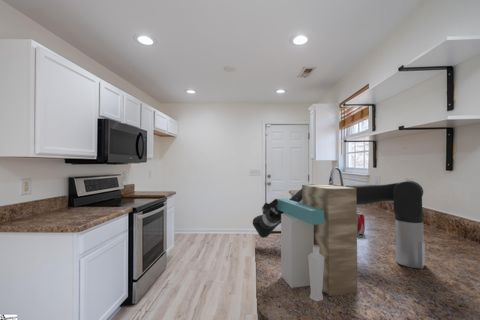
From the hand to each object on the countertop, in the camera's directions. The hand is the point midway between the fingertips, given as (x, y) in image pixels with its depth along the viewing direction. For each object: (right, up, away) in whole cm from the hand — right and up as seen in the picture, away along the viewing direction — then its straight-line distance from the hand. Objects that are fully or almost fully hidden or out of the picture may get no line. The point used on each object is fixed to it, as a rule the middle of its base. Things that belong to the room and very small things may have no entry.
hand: (287, 200), depth 87 cm
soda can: (+51, -28, +49) cm, 76 cm away
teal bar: (+2, -4, -7) cm, 8 cm away
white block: (+2, -26, -8) cm, 27 cm away
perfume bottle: (+5, -26, -18) cm, 32 cm away
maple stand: (+12, -26, -9) cm, 30 cm away
